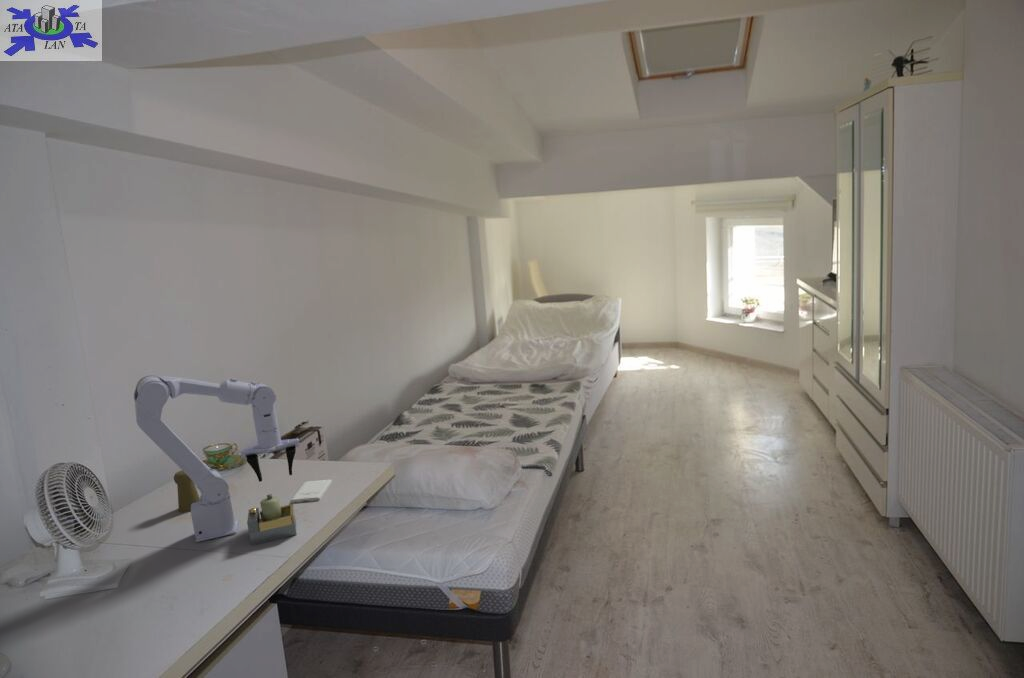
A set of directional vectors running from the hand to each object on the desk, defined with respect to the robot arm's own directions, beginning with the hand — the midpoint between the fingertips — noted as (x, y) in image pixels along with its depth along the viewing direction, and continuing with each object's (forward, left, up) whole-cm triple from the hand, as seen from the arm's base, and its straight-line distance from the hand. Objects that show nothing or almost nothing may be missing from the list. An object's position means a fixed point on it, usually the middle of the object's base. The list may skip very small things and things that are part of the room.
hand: (275, 477), depth 175 cm
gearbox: (-1, -13, -10) cm, 16 cm away
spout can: (-1, -13, -7) cm, 15 cm away
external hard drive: (+8, +9, -11) cm, 16 cm away
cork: (-25, +18, -10) cm, 32 cm away
